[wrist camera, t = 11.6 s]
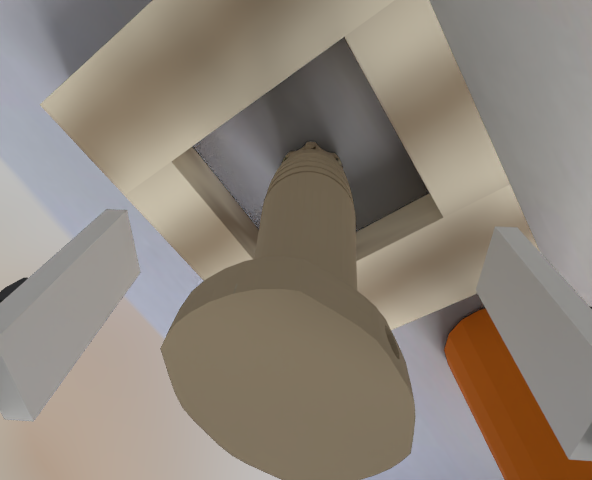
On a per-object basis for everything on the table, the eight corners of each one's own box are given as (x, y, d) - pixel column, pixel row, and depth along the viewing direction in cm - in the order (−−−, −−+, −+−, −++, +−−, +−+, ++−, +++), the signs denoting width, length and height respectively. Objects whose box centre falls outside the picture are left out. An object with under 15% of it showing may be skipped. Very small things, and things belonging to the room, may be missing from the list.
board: (520, 236, 23) (545, 264, 20) (293, 339, 28) (289, 373, 25) (344, -149, 15) (349, -182, 13) (76, 92, 20) (39, 104, 18)
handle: (324, 92, 20) (325, 251, 7) (376, 197, 22) (450, 457, 9) (243, 138, 21) (114, 344, 8) (301, 232, 24) (275, 499, 11)
